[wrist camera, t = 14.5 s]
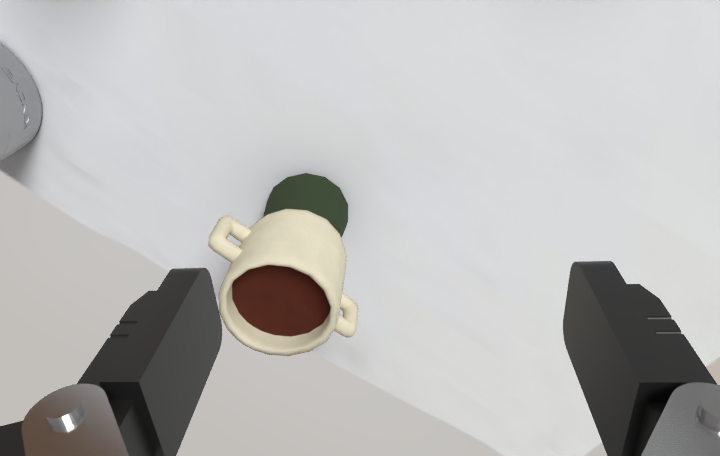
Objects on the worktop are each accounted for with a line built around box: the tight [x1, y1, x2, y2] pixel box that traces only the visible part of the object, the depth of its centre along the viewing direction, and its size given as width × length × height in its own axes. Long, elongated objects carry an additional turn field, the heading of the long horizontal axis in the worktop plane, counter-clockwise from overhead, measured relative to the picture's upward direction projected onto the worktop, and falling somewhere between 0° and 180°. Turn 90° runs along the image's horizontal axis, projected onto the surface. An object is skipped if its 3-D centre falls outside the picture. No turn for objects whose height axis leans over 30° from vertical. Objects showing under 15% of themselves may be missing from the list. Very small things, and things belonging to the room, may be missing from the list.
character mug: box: [209, 173, 358, 356], centre depth 38 cm, size 11×7×13 cm, turn 51°
